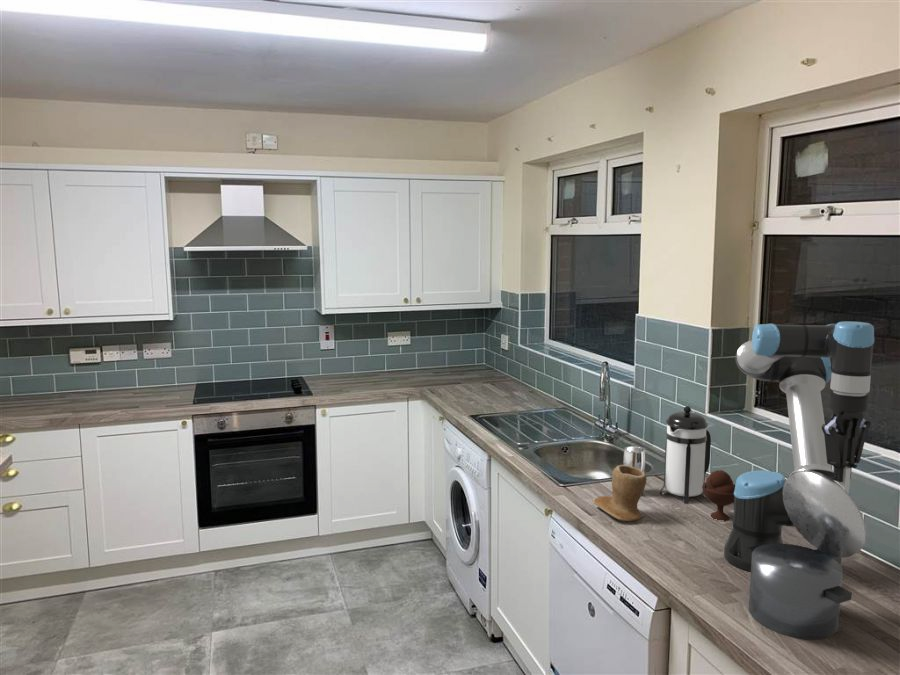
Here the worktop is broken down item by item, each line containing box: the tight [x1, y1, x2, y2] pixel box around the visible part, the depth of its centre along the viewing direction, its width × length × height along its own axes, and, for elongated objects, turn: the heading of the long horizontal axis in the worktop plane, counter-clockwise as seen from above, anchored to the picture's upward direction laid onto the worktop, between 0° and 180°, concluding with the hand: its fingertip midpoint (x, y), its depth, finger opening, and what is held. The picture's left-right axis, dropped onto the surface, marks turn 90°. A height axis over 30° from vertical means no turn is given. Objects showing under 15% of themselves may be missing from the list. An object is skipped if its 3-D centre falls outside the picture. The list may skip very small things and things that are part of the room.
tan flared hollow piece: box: [592, 464, 647, 522], centre depth 209 cm, size 15×12×15 cm
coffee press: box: [659, 405, 712, 504], centre depth 224 cm, size 17×16×30 cm
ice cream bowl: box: [702, 469, 736, 522], centre depth 206 cm, size 11×11×15 cm
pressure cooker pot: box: [746, 543, 853, 640], centre depth 153 cm, size 20×24×13 cm
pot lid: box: [783, 470, 867, 559], centre depth 153 cm, size 20×20×3 cm
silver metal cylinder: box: [622, 445, 646, 473], centre depth 226 cm, size 7×7×15 cm
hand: (840, 494), depth 154 cm, fingers closed
